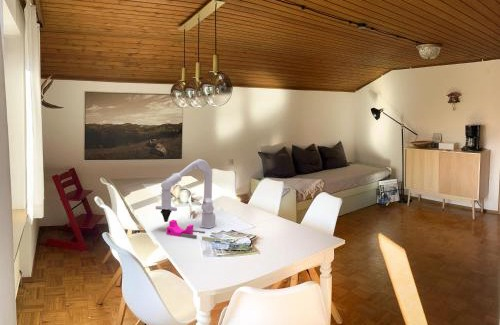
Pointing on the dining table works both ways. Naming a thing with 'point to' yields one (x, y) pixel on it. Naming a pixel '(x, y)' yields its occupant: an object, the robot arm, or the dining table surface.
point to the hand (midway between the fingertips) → (166, 221)
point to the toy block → (178, 229)
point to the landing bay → (212, 237)
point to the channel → (191, 235)
